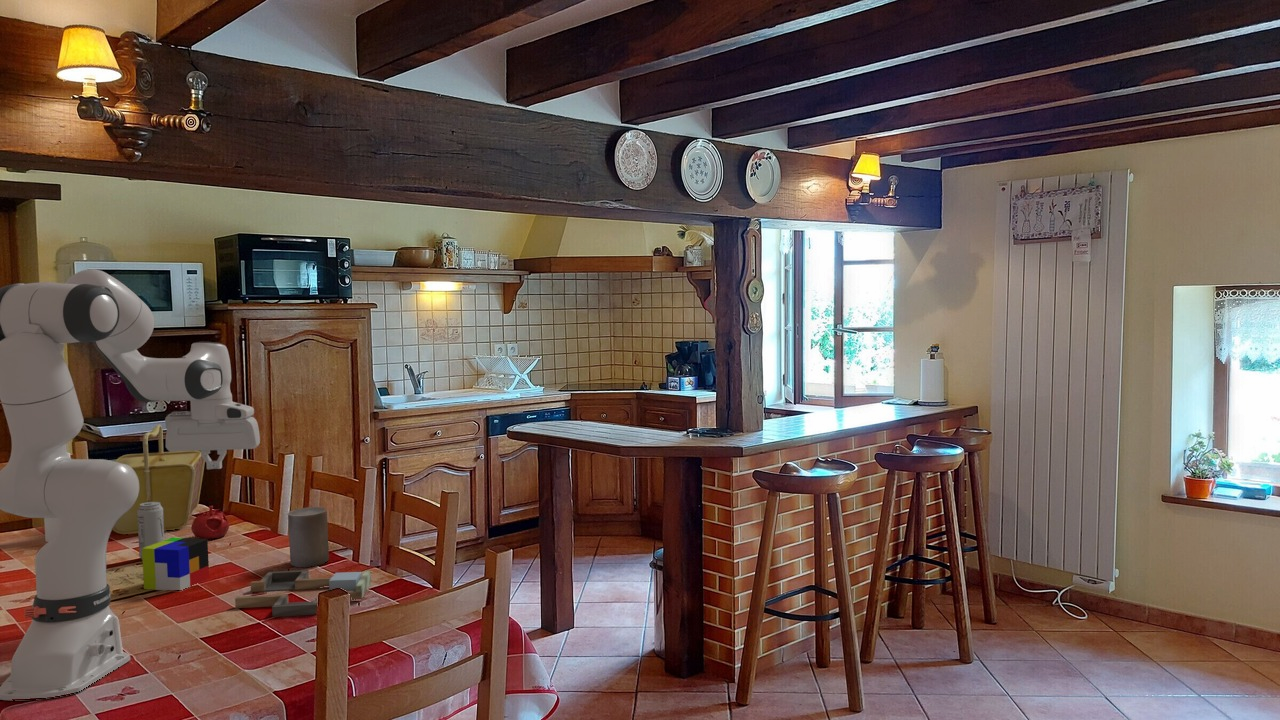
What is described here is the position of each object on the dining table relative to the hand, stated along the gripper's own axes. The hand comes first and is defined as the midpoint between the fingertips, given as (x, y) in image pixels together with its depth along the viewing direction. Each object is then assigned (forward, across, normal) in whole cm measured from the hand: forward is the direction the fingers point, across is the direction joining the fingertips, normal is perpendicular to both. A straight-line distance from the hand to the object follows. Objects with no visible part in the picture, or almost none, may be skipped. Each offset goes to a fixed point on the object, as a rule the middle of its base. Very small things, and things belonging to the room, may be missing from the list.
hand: (214, 468), depth 206 cm
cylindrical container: (+29, -63, +58) cm, 91 cm away
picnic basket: (+29, -42, +73) cm, 89 cm away
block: (+29, +31, -9) cm, 43 cm away
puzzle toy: (+29, -12, +7) cm, 33 cm away
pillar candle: (+29, +16, +20) cm, 39 cm away
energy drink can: (+29, -27, +31) cm, 50 cm away
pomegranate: (+29, -19, +52) cm, 63 cm away
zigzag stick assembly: (+29, +21, -8) cm, 37 cm away
